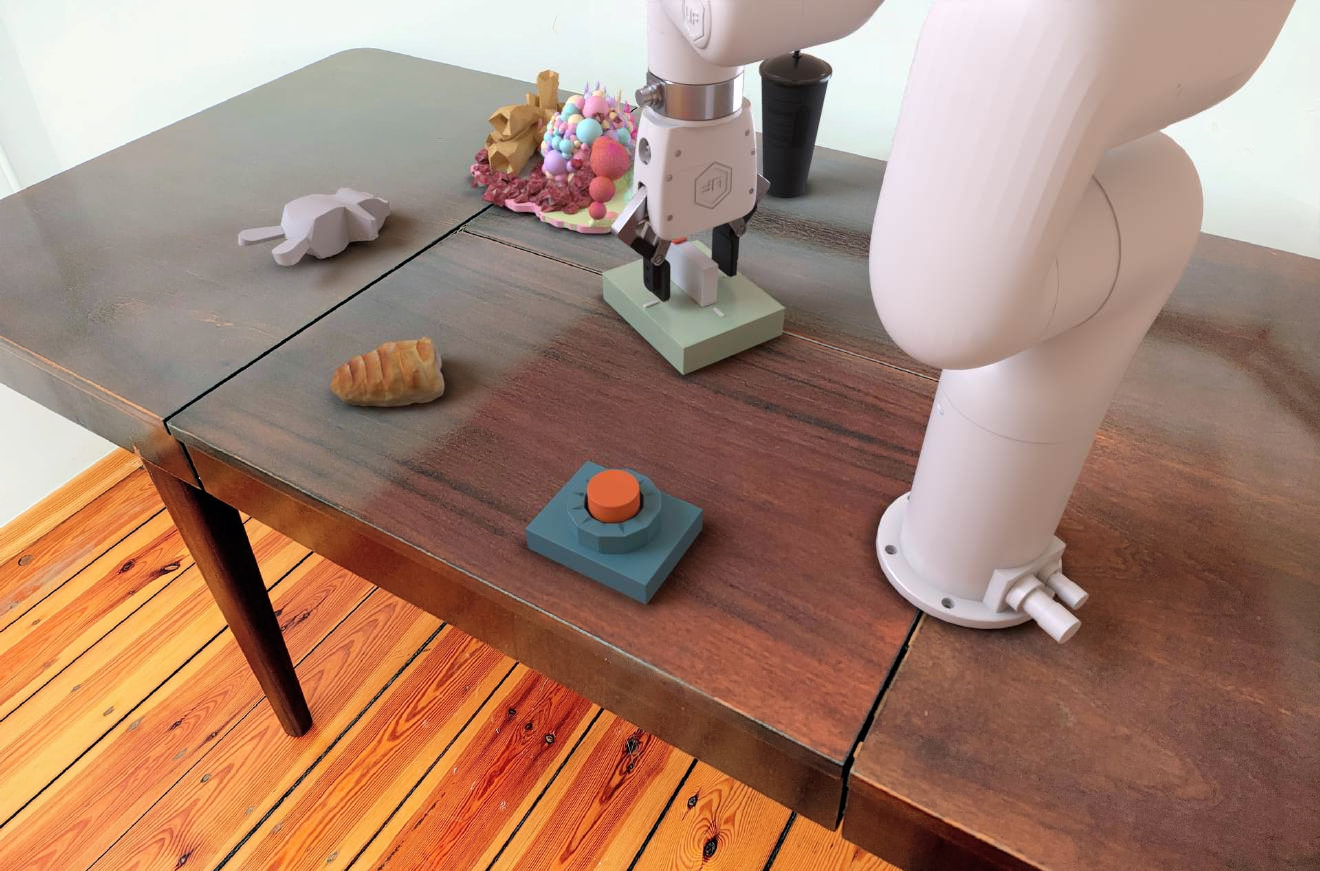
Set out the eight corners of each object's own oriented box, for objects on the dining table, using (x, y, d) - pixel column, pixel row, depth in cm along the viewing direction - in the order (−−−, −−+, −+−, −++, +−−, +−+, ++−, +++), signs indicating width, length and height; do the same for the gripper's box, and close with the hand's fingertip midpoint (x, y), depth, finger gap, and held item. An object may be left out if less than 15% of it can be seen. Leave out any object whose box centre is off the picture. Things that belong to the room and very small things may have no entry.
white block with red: (717, 302, 84) (718, 261, 82) (702, 307, 84) (703, 267, 81) (680, 271, 88) (681, 232, 85) (666, 276, 88) (666, 237, 85)
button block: (702, 529, 68) (704, 491, 66) (646, 605, 63) (645, 568, 61) (589, 480, 72) (586, 442, 69) (527, 548, 67) (522, 511, 64)
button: (649, 498, 66) (649, 480, 65) (622, 531, 64) (621, 514, 62) (606, 479, 67) (605, 462, 66) (578, 511, 65) (576, 494, 64)
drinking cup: (829, 182, 107) (853, -1, 94) (799, 210, 102) (820, 22, 89) (770, 166, 110) (784, -14, 97) (738, 192, 106) (749, 8, 92)
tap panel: (782, 334, 86) (785, 306, 84) (683, 375, 82) (683, 346, 79) (697, 265, 95) (697, 237, 92) (603, 298, 90) (601, 271, 88)
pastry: (337, 423, 77) (326, 388, 75) (332, 375, 82) (321, 340, 79) (451, 400, 79) (443, 364, 77) (439, 354, 84) (432, 319, 81)
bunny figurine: (405, 194, 97) (285, 241, 87) (410, 239, 100) (294, 289, 90) (344, 170, 101) (222, 212, 91) (351, 214, 104) (233, 259, 94)
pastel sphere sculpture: (434, 198, 105) (419, 119, 98) (541, 117, 120) (535, 44, 114) (633, 248, 97) (630, 166, 91) (720, 155, 112) (723, 78, 106)
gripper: (625, 134, 68) (631, 333, 80) (811, 81, 74) (791, 272, 87) (575, 98, 72) (588, 291, 84) (755, 51, 79) (743, 237, 91)
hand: (691, 280), depth 85 cm, fingers open, 6 cm apart
